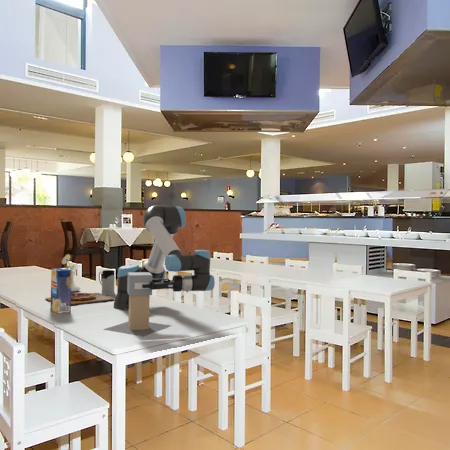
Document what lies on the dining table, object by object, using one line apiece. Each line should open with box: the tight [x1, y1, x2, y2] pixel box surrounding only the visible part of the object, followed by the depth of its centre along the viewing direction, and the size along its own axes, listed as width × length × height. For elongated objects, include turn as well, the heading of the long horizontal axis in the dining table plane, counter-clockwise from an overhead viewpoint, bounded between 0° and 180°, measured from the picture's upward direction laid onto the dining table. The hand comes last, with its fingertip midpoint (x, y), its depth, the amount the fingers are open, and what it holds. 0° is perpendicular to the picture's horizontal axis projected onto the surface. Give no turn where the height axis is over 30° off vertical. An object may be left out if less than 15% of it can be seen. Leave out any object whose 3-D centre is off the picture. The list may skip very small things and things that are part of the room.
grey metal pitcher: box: [98, 269, 116, 296], centre depth 286 cm, size 9×14×15 cm, turn 53°
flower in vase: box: [61, 254, 81, 293], centre depth 289 cm, size 13×11×25 cm
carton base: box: [127, 295, 151, 330], centre depth 198 cm, size 8×8×18 cm
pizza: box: [45, 292, 116, 306], centre depth 261 cm, size 35×28×4 cm
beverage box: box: [49, 267, 73, 314], centre depth 230 cm, size 7×11×22 cm, turn 40°
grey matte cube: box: [127, 272, 153, 296], centre depth 198 cm, size 10×10×9 cm
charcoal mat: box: [102, 321, 172, 337], centre depth 198 cm, size 22×22×1 cm
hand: (133, 283), depth 197 cm, fingers closed on grey matte cube, 10 cm apart
